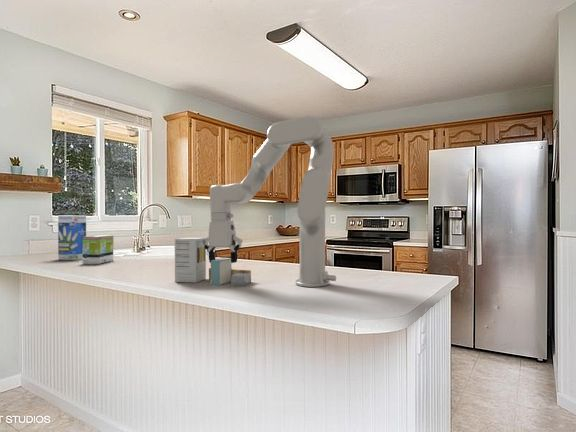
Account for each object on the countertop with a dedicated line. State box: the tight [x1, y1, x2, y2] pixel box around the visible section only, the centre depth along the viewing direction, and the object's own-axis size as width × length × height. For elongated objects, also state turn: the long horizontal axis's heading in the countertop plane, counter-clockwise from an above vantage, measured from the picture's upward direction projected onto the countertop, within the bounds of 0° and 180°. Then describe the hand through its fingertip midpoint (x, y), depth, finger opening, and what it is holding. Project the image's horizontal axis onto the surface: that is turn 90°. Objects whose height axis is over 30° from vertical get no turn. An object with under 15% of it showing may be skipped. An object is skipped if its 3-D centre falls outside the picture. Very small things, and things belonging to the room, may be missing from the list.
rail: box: [208, 267, 252, 283], centre depth 150 cm, size 18×1×4 cm, turn 67°
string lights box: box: [57, 214, 87, 261], centre depth 225 cm, size 13×8×26 cm, turn 80°
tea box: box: [81, 234, 114, 265], centre depth 210 cm, size 15×10×15 cm
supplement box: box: [174, 237, 207, 284], centre depth 151 cm, size 10×9×17 cm
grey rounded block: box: [230, 273, 251, 288], centre depth 142 cm, size 5×8×4 cm, turn 173°
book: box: [210, 257, 232, 286], centre depth 146 cm, size 4×8×9 cm, turn 156°
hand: (223, 262), depth 146 cm, fingers open, 9 cm apart
